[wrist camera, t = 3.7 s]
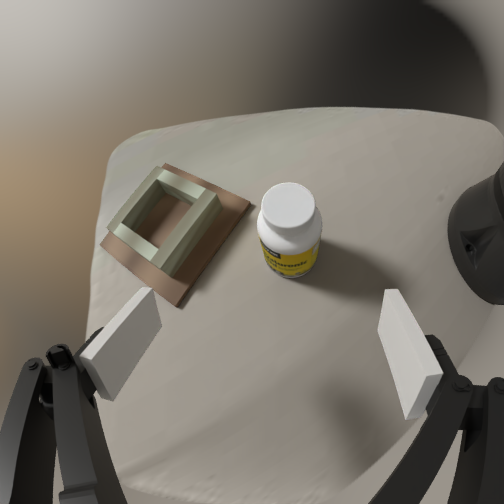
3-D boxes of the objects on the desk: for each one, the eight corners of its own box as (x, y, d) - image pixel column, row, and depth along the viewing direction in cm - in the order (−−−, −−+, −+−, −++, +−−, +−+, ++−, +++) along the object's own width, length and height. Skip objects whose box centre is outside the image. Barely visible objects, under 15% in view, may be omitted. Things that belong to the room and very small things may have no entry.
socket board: (250, 204, 33) (245, 186, 29) (177, 307, 29) (162, 299, 26) (166, 165, 37) (157, 148, 34) (102, 246, 34) (86, 234, 30)
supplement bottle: (257, 270, 29) (239, 224, 21) (275, 225, 31) (266, 167, 22) (308, 286, 28) (313, 245, 19) (323, 239, 30) (332, 183, 21)
